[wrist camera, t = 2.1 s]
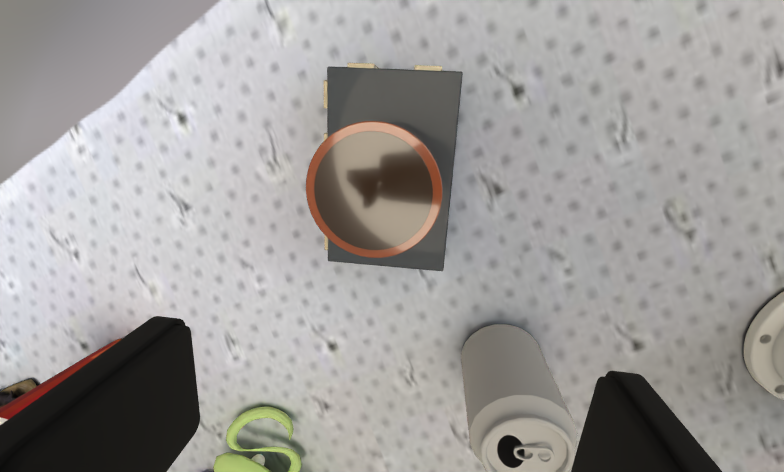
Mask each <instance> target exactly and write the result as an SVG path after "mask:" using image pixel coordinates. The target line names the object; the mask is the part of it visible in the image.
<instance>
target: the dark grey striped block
mask: <svg viewBox="0 0 784 472" xmlns="http://www.w3.org/2000/svg"><path fill="white" fill-rule="evenodd" d="M462 74H463V73H462V72H456V71H442V66H421V65H415V68H414V70H403V69H379V68H378V67H377V66H376V65H375V64H367V63H348V67H328V68H327V80H324V108H327V109H328V133H324V141H325V140H326V139H327V138H328V137H329V136H330V135H331V134H333V133H334V132H336V131H337V130H339V129H341V128H343V127H345V126H347V125H350V124H353V123H357V122H363V121H383V122H389V123H393V124H397V125H399V126H401V127H404V128H406V129H407V130H409V131H411V132H412V133H414V134H415V135H416V136H418V137H419V138H420V139H421V140H422V141H423V142H424V143H425V144H426V145H427V147H428V148H429V149H430V151H431V152H432V154H433V156H434V157H435V159H436V162H437V164H438V167H439V170H440V174H441V180H442V202H441V208H440V211H439V215H438V217H437V219H436V221H435V224H434V225H433V227H432V228H431V230H430V231H429V233H428V234H427V235H426V236H425V237H424V238H423V239H422V240H421V241H420V242H419V243H418V244H416V245H415V246H414V247H412V248H411V249H409V250H407V251H405V252H403V253H400V254H397V255H394V256H390V257H382V258H370V257H363V256H359V255H356V254H353V253H350V252H348V251H346V250H344V249H342V248H340V247H339V246H337V245H336V244H335V243H333V242H332V241H331V240H330V239H329V238H328V237H326V236H325V250H328V261H334V262H345V263H356V264H367V265H379V266H390V267H401V268H412V269H423V270H435V271H443V268H444V258H445V248H446V237H447V227H448V217H449V207H450V196H451V186H452V176H453V166H454V155H455V145H456V135H457V125H458V114H459V104H460V94H461V84H462Z"/></svg>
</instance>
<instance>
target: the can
mask: <svg viewBox="0 0 784 472" xmlns="http://www.w3.org/2000/svg"><path fill="white" fill-rule="evenodd" d="M461 364H462V373H463V383H464V392H465V402H466V411H467V420H468V430H469V439H470V444H471V447H472V449H473V451H474V454H475V456H476V457H477V458H478V459H479V460H480V461H481V462H482V463H483V466H484V468H485V470H486V471H487V472H570V470H571V468H572V466H573V463H574V459H575V448H576V444H577V431H576V428H575V425H574V422H573V419H572V417H571V415H570V413H569V410H568V408H567V406H566V404H565V402H564V400H563V397H562V395H561V393H560V391H559V389H558V387H557V384H556V382H555V380H554V378H553V376H552V374H551V371H550V369H549V367H548V365H547V363H546V361H545V358H544V356H543V354H542V352H541V350H540V347H539V345H538V343H537V342H536V341H535V340H534V338H533V337H532V336H531V335H530V334H529V333H527V332H526V331H524V330H523V329H521V328H519V327H515V326H512V325H508V324H494V325H491V326H487V327H484V328H481V329H480V330H478V331H477V332H475V333H474V334H472V335H471V336H470V338H469V339H468V340H467V341H466V342H465V344H464V347H463V350H462V353H461Z"/></svg>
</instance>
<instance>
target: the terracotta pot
mask: <svg viewBox="0 0 784 472" xmlns="http://www.w3.org/2000/svg"><path fill="white" fill-rule="evenodd" d="M306 195H307V201H308V206H309V208H310V211H311V214H312V216H313V218H314V220H315V222H316V224H317V225H318V227H319V228H320V230H321V231H322V232H323V233H324V234H325V236H326V237H328V238H329V239H330V240H331V241H332V242H333V243H335V244H336V245H337V246H339V247H340V248H342V249H344V250H346V251H348V252H350V253H353V254H356V255H359V256H363V257H370V258H382V257H390V256H394V255H397V254H400V253H403V252H405V251H407V250H409V249H411V248H412V247H414V246H415V245H416V244H418V243H419V242H420V241H421V240H422V239H423V238H424V237H425V236H426V235H427V234H428V233H429V231H430V230H431V228H432V227H433V225H434V224H435V221H436V219H437V217H438V215H439V211H440V208H441V202H442V180H441V174H440V170H439V167H438V164H437V162H436V159H435V157H434V156H433V154H432V152H431V151H430V149H429V148H428V147H427V145H426V144H425V143H424V142H423V141H422V140H421V139H420V138H419V137H418V136H416V135H415V134H414V133H412V132H411V131H409V130H407V129H406V128H404V127H401V126H399V125H397V124H393V123H389V122H383V121H363V122H357V123H353V124H350V125H347V126H345V127H343V128H341V129H339V130H337V131H336V132H334V133H333V134H331V135H330V136H329V137H328V138H327V139H326V140H325V141H324V142H323V143H322V144H321V145H320V146H319V148H318V149H317V151H316V152H315V154H314V156H313V158H312V160H311V162H310V166H309V169H308V173H307V179H306Z"/></svg>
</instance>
